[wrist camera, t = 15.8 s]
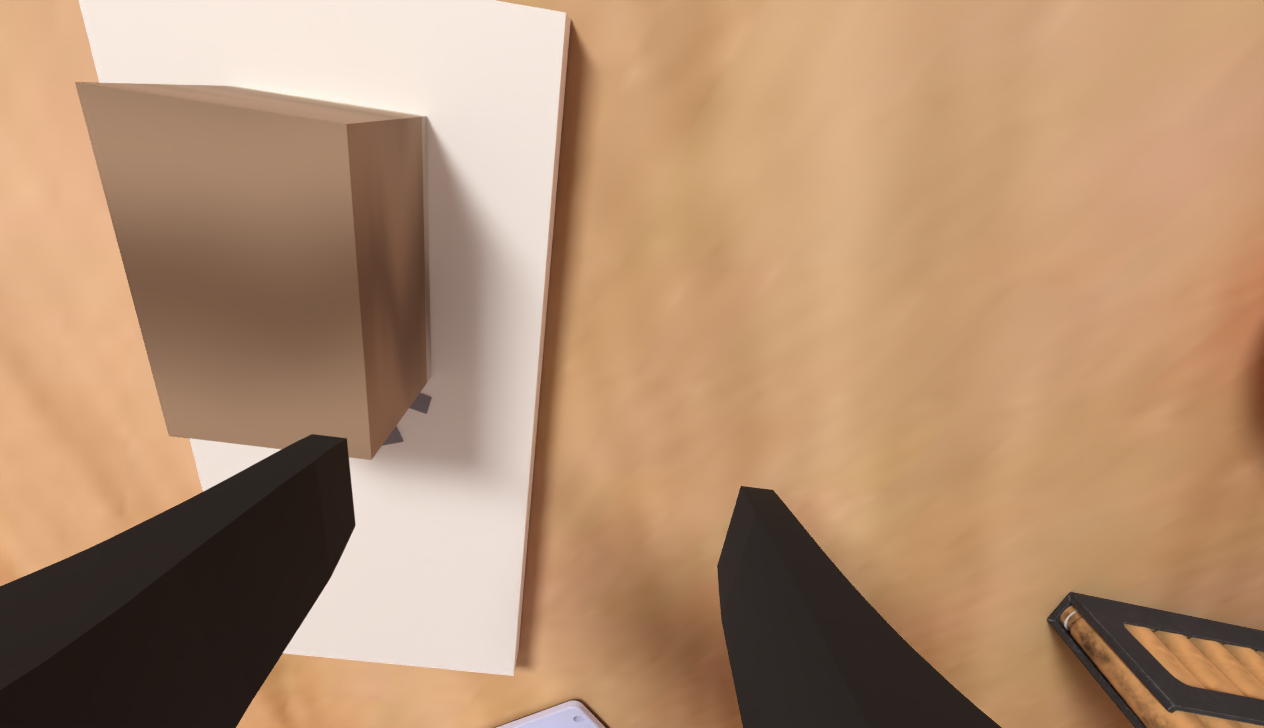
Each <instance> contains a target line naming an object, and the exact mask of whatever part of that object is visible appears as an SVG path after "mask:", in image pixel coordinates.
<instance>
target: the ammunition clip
mask: <svg viewBox="0 0 1264 728" xmlns="http://www.w3.org/2000/svg"><path fill="white" fill-rule="evenodd" d="M1047 621H1048V622H1049V623H1050V624H1051V625H1052V627H1053V628H1054V629H1055V630H1056V632H1057V633H1058V634H1059V635H1060V636H1061V638H1062V639H1063V640H1064V641H1065V643H1066V644H1067V645H1068V646H1069V648H1070V649H1071V650H1072V651H1073V652H1074V654H1075V655H1076V656H1077V657H1078V659H1079V660H1080V661H1081V662H1082V663H1083V665H1084V666H1085V667H1086V668H1087V670H1088V671H1089V672H1090V673H1091V674H1092V676H1093V677H1094V678H1095V679H1096V681H1097V682H1098V683H1099V684H1100V685H1101V687H1102V688H1103V689H1104V690H1105V692H1106V693H1107V694H1108V695H1109V696H1110V698H1111V699H1112V700H1113V701H1114V703H1115V704H1116V705H1117V706H1118V707H1119V709H1120V710H1121V711H1122V712H1123V714H1124V715H1125V716H1126V717H1127V718H1128V720H1129V721H1130V722H1131V723H1132V725H1133V726H1134V727H1135V728H1264V631H1261V630H1256V629H1251V628H1246V627H1241V626H1236V625H1231V624H1227V623H1222V622H1217V621H1212V620H1207V619H1202V618H1197V617H1192V616H1187V615H1182V614H1177V613H1172V612H1167V611H1162V610H1158V609H1153V608H1148V607H1143V606H1138V605H1133V604H1128V603H1123V602H1118V601H1113V600H1108V599H1103V598H1098V597H1093V596H1089V595H1084V594H1079V593H1074V592H1070V594H1069V595H1068V596H1067V597H1066V598H1065V599H1064V601H1063V602H1062V603H1061V604H1060V605H1059V606H1058V607H1057V609H1056V610H1055V611H1054V612H1053V613H1052V614H1051V616H1050V617H1049V618H1048V619H1047Z"/></svg>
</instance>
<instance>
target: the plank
mask: <svg viewBox="0 0 1264 728" xmlns="http://www.w3.org/2000/svg"><path fill="white" fill-rule="evenodd" d="M79 4H80V8H81V12H82V16H83V20H84V24H85V27H86V31H87V35H88V39H89V43H90V47H91V51H92V55H93V59H94V63H95V67H96V71H97V75H98V79H99V83H133V84H174V85H214V86H238V87H244V88H251V89H257V90H263V91H270V92H276V93H282V94H289V95H295V96H302V97H308V98H314V99H321V100H327V101H333V102H340V103H346V104H352V105H359V106H365V107H372V108H378V109H384V110H391V111H397V112H403V113H410V114H416V115H422V116H427V153H428V216H429V279H430V343H431V378H430V380H429V381H428V382H427V384H426V385H425V387H424V388H423V389H422V391H421V392H420V394H419V395H418V396H417V398H416V399H415V400H414V402H413V403H412V405H411V406H410V407H409V409H408V410H407V412H406V413H405V414H404V416H403V417H402V419H401V420H400V421H399V423H398V424H397V425H396V427H395V428H394V430H393V431H392V432H391V434H390V435H389V437H388V438H387V439H386V441H385V442H384V443H383V445H382V446H381V448H380V449H379V450H378V452H377V453H376V455H375V456H374V457H373V459H372V460H367V459H359V458H350V457H349V465H350V474H351V484H352V494H353V504H354V514H355V524H356V526H355V528H354V530H353V532H352V534H351V537H350V539H349V541H348V543H347V545H346V548H345V550H344V552H343V554H342V556H341V558H340V560H339V562H338V564H337V566H336V568H335V570H334V572H333V574H332V576H331V578H330V580H329V581H328V583H327V585H326V586H325V588H324V589H323V591H322V593H321V594H320V596H319V597H318V599H317V600H316V602H315V604H314V605H313V607H312V608H311V610H310V611H309V613H308V615H307V616H306V618H305V619H304V621H303V622H302V624H301V626H300V627H299V629H298V630H297V632H296V633H295V635H294V636H293V638H292V639H291V641H290V643H289V644H288V646H287V647H286V649H285V650H284V652H283V653H285V654H296V655H306V656H316V657H326V658H337V659H347V660H357V661H367V662H378V663H388V664H398V665H408V666H419V667H429V668H439V669H449V670H460V671H470V672H480V673H490V674H501V675H511V676H514V671H515V666H516V661H517V656H518V651H519V639H520V627H521V615H522V603H523V591H524V579H525V567H526V555H527V543H528V531H529V519H530V507H531V494H532V482H533V470H534V458H535V446H536V434H537V422H538V410H539V398H540V386H541V374H542V362H543V350H544V337H545V325H546V313H547V301H548V289H549V277H550V265H551V253H552V241H553V229H554V217H555V205H556V193H557V181H558V168H559V156H560V144H561V132H562V120H563V108H564V96H565V84H566V72H567V60H568V48H569V36H570V24H571V18H570V17H569V16H568V14H567V13H565V12H559V11H553V10H548V9H542V8H536V7H530V6H524V5H518V4H513V3H507V2H501V1H495V0H79ZM190 442H191V446H192V450H193V454H194V458H195V462H196V466H197V470H198V474H199V478H200V482H201V486H202V490H203V492H204V491H206V490H207V489H209V488H211V487H213V486H215V485H217V484H219V483H220V482H222V481H224V480H226V479H228V478H230V477H232V476H234V475H235V474H237V473H239V472H241V471H243V470H245V469H246V468H248V467H250V466H252V465H254V464H256V463H257V462H259V461H261V460H263V459H265V458H267V457H268V456H270V455H272V454H274V453H276V452H278V451H280V450H281V449H275V448H266V447H258V446H250V445H241V444H233V443H224V442H216V441H208V440H199V439H191V438H190Z"/></svg>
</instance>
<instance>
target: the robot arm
mask: <svg viewBox="0 0 1264 728" xmlns="http://www.w3.org/2000/svg"><path fill="white" fill-rule="evenodd" d="M355 526H356V524H355V514H354V504H353V494H352V484H351V474H350V465H349V455H348V445H347V438H340V437H332V436H324V435H316V434H311V435H309V436H307V437H305V438H303V439H301V440H299V441H297V442H295V443H293V444H291V445H289V446H287V447H285V448H283V449H281V450H280V451H278V452H276V453H274V454H272V455H270V456H268V457H267V458H265V459H263V460H261V461H259V462H257V463H256V464H254V465H252V466H250V467H248V468H246V469H245V470H243V471H241V472H239V473H237V474H235V475H234V476H232V477H230V478H228V479H226V480H224V481H222V482H220V483H219V484H217V485H215V486H213V487H211V488H209V489H207V490H206V491H204V492H202V493H200V494H198V495H196V496H194V497H192V498H191V499H189V500H187V501H185V502H183V503H181V504H179V505H177V506H175V507H173V508H171V509H169V510H167V511H165V512H163V513H161V514H159V515H157V516H155V517H153V518H151V519H149V520H147V521H144V522H142V523H140V524H138V525H136V526H134V527H132V528H130V529H128V530H126V531H124V532H122V533H120V534H118V535H116V536H114V537H112V538H110V539H108V540H106V541H104V542H102V543H99V544H97V545H95V546H93V547H91V548H89V549H86V550H84V551H82V552H80V553H78V554H75V555H73V556H71V557H69V558H66V559H64V560H62V561H60V562H57V563H55V564H53V565H50V566H48V567H45V568H43V569H41V570H38V571H36V572H34V573H31V574H29V575H27V576H24V577H22V578H19V579H17V580H15V581H12V582H10V583H8V584H5V585H3V586H0V728H236V726H237V725H238V723H239V721H240V720H241V718H242V716H243V715H244V713H245V711H246V710H247V708H248V706H249V705H250V703H251V701H252V700H253V698H254V697H255V695H256V694H257V692H258V691H259V689H260V687H261V686H262V684H263V683H264V681H265V680H266V678H267V677H268V675H269V674H270V672H271V670H272V669H273V667H274V666H275V664H276V663H277V661H278V660H279V658H280V656H281V655H282V653H283V652H284V650H285V649H286V647H287V646H288V644H289V643H290V641H291V639H292V638H293V636H294V635H295V633H296V632H297V630H298V629H299V627H300V626H301V624H302V622H303V621H304V619H305V618H306V616H307V615H308V613H309V611H310V610H311V608H312V607H313V605H314V604H315V602H316V600H317V599H318V597H319V596H320V594H321V593H322V591H323V589H324V588H325V586H326V585H327V583H328V581H329V580H330V578H331V576H332V574H333V572H334V570H335V568H336V566H337V564H338V562H339V560H340V558H341V556H342V554H343V552H344V550H345V548H346V545H347V543H348V541H349V539H350V537H351V534H352V532H353V530H354V528H355ZM717 567H718V582H719V596H720V607H721V618H722V624H723V629H724V634H725V639H726V645H727V650H728V655H729V660H730V665H731V670H732V675H733V679H734V684H735V689H736V694H737V699H738V704H739V709H740V714H741V719H742V724H743V728H1001V727H1000V726H999V725H998V724H997V723H995V722H994V721H993V720H992V719H991V718H989V717H988V716H987V715H986V714H985V713H983V712H982V711H981V710H980V709H979V708H977V707H976V706H975V705H974V704H973V703H972V702H971V701H969V700H968V699H967V698H966V697H965V696H964V695H963V694H961V693H960V692H959V691H958V690H957V689H956V688H955V687H954V686H952V685H951V684H950V683H949V682H948V681H947V680H946V679H945V678H944V677H943V676H942V675H941V674H940V673H939V672H937V671H936V670H935V669H934V668H933V667H932V666H931V665H930V664H929V663H928V662H927V661H926V660H925V659H924V658H922V657H921V656H920V655H919V654H918V653H917V652H916V651H915V650H914V649H913V648H912V647H911V646H910V645H909V644H908V643H907V642H906V641H905V640H904V639H903V638H902V637H901V636H900V635H899V634H898V633H897V632H896V631H895V630H894V629H893V628H892V627H891V626H890V625H889V624H888V623H887V622H886V621H885V620H884V619H883V618H882V616H881V615H880V614H879V613H878V612H877V611H876V610H875V609H874V608H873V607H872V606H871V605H870V604H869V603H868V602H867V601H866V600H865V599H864V597H863V596H862V595H861V594H860V593H859V592H858V591H857V590H856V589H855V587H854V586H853V585H852V584H851V583H850V582H849V581H848V580H847V578H846V577H845V576H844V575H843V574H842V573H841V572H840V570H839V569H838V568H837V567H836V566H835V565H834V563H833V562H832V561H831V560H830V559H829V558H828V556H827V555H826V554H825V553H824V552H823V550H822V549H821V548H820V547H819V546H818V544H817V543H816V542H815V541H814V539H813V538H812V537H811V536H810V535H809V533H808V532H807V531H806V530H805V528H804V527H803V526H802V525H801V524H800V522H799V521H798V520H797V519H796V517H795V516H794V515H793V514H792V512H791V511H790V510H789V509H788V507H787V506H786V505H785V504H784V503H783V501H782V500H781V499H780V498H779V497H778V495H777V494H776V493H775V492H774V491H773V490H769V489H760V488H752V487H744V486H741V488H740V491H739V495H738V498H737V501H736V505H735V508H734V512H733V515H732V518H731V522H730V525H729V528H728V532H727V535H726V539H725V542H724V545H723V549H722V552H721V556H720V559H719V562H718V566H717ZM496 728H605V727H604V726H603V724H602V723H601V722H600V721H599V720H598V719H597V718H596V717H595V716H594V715H593V714H592V713H591V712H590V711H589V710H588V709H587V708H586V707H585V706H584V705H583V704H582V703H581V702H579V701H575V700H572V701H568V702H565V703H563V704H560V705H557V706H554V707H551V708H549V709H546V710H543V711H540V712H538V713H535V714H532V715H529V716H527V717H524V718H521V719H518V720H515V721H513V722H510V723H507V724H504V725H502V726H499V727H496Z"/></svg>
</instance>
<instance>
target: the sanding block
mask: <svg viewBox="0 0 1264 728" xmlns="http://www.w3.org/2000/svg"><path fill="white" fill-rule="evenodd" d="M75 84H76V87H77V91H78V95H79V99H80V102H81V106H82V110H83V114H84V117H85V121H86V125H87V129H88V133H89V136H90V140H91V144H92V148H93V151H94V155H95V159H96V163H97V166H98V170H99V174H100V178H101V181H102V185H103V189H104V193H105V197H106V200H107V204H108V208H109V212H110V215H111V219H112V223H113V227H114V230H115V234H116V238H117V242H118V246H119V249H120V253H121V257H122V261H123V264H124V268H125V272H126V276H127V279H128V283H129V287H130V291H131V294H132V298H133V302H134V306H135V310H136V313H137V317H138V321H139V325H140V328H141V332H142V336H143V340H144V343H145V347H146V351H147V355H148V358H149V362H150V366H151V370H152V374H153V377H154V381H155V385H156V389H157V392H158V396H159V400H160V404H161V407H162V411H163V415H164V419H165V422H166V426H167V430H168V434H169V436H174V437H182V438H191V439H199V440H208V441H216V442H224V443H233V444H241V445H250V446H258V447H266V448H275V449H283V448H285V447H287V446H289V445H291V444H293V443H295V442H297V441H299V440H301V439H303V438H305V437H307V436H309V435H311V434H316V435H324V436H332V437H340V438H347V445H348V455H349V457H350V458H359V459H367V460H372V459H373V457H374V456H375V455H376V453H377V452H378V450H379V449H380V448H381V446H382V445H383V443H384V442H385V441H386V439H387V438H388V437H389V435H390V434H391V432H392V431H393V430H394V428H395V427H396V425H397V424H398V423H399V421H400V420H401V419H402V417H403V416H404V414H405V413H406V412H407V410H408V409H409V407H410V406H411V405H412V403H413V402H414V400H415V399H416V398H417V396H418V395H419V394H420V392H421V391H422V389H423V388H424V387H425V385H426V384H427V382H428V381H429V380H430V378H431V343H430V279H429V216H428V153H427V116H422V115H416V114H410V113H403V112H397V111H391V110H384V109H378V108H372V107H365V106H359V105H352V104H346V103H340V102H333V101H327V100H321V99H314V98H308V97H302V96H295V95H289V94H282V93H276V92H270V91H263V90H257V89H251V88H244V87H238V86H214V85H174V84H133V83H93V82H75Z"/></svg>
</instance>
